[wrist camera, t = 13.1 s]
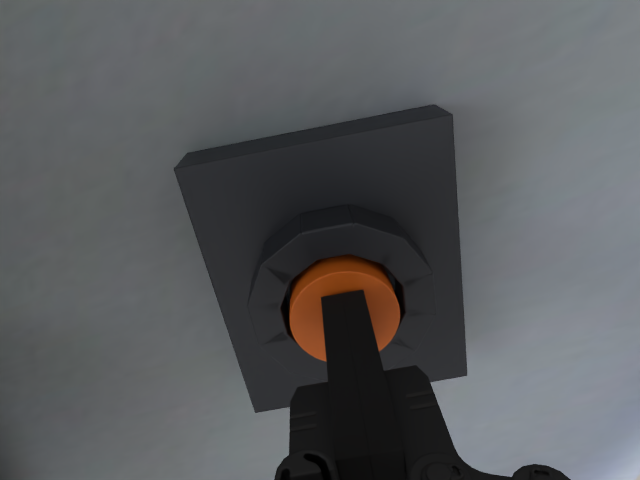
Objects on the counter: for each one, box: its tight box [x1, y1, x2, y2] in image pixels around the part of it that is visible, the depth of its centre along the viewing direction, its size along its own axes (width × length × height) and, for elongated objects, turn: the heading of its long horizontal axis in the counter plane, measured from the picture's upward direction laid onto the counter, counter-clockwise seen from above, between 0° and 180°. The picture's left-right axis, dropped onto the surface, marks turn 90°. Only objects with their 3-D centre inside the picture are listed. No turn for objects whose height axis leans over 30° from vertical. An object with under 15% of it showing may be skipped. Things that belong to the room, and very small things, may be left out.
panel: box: [174, 105, 467, 413], centre depth 19 cm, size 12×10×4 cm
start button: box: [290, 254, 400, 361], centre depth 17 cm, size 4×4×2 cm
